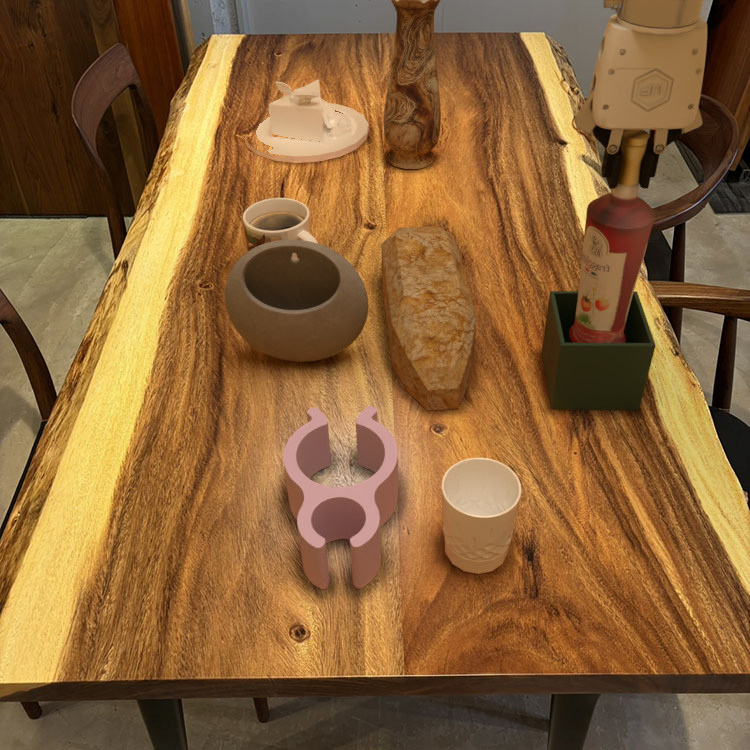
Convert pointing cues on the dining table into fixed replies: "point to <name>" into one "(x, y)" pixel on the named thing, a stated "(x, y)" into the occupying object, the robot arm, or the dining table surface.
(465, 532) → the white cup
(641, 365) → the green square box
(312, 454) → the clip
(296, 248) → the planter
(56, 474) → the dining table surface
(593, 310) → the liquor
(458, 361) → the bread
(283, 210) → the mug
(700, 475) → the dining table surface
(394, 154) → the vase
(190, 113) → the dining table surface
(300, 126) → the dish
